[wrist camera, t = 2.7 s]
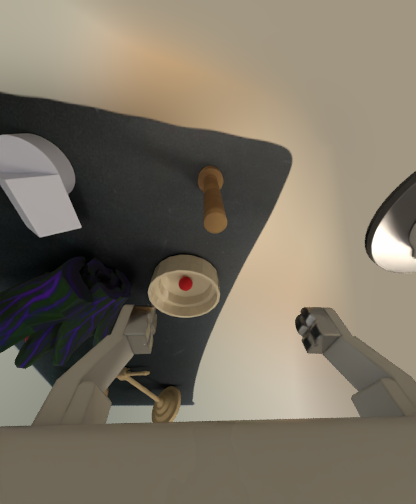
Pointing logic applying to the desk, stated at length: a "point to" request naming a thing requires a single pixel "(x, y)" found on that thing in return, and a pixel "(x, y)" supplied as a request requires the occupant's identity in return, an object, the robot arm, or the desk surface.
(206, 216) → the wooden pestle
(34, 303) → the decorative plant
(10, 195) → the wedge on round base
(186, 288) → the berry
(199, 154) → the desk surface
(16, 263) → the desk surface
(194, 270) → the bowl
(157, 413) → the desk lamp
